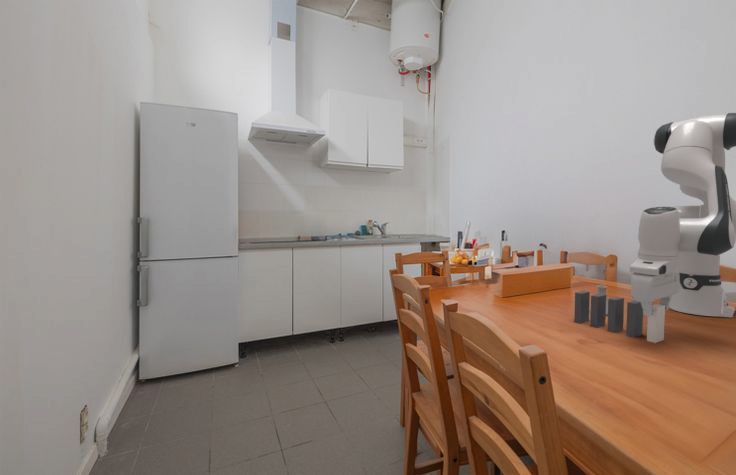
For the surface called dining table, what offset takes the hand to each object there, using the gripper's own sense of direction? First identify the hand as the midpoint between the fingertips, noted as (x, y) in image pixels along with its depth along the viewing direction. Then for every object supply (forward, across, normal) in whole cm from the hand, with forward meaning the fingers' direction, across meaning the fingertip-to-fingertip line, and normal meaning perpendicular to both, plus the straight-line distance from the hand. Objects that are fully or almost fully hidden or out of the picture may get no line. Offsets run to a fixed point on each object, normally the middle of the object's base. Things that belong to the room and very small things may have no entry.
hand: (655, 312), depth 93 cm
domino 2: (+8, +1, -15) cm, 17 cm away
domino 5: (+8, +1, 0) cm, 8 cm away
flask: (+8, -15, -22) cm, 28 cm away
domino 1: (+8, +1, -20) cm, 21 cm away
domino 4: (+8, +1, -5) cm, 9 cm away
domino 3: (+8, +1, -10) cm, 12 cm away
